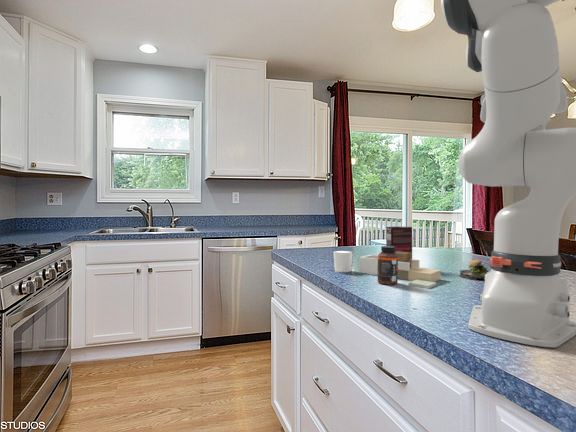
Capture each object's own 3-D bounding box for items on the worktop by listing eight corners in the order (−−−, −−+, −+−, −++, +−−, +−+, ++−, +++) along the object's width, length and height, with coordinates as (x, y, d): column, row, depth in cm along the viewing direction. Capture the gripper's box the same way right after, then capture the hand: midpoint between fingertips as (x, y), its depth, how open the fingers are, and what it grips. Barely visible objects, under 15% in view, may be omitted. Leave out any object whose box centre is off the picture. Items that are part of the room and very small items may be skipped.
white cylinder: (338, 268, 132) (338, 249, 132) (355, 270, 128) (355, 251, 128) (329, 271, 126) (329, 251, 126) (346, 273, 122) (347, 253, 122)
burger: (476, 282, 110) (477, 259, 110) (451, 275, 122) (452, 253, 122) (508, 281, 113) (509, 258, 113) (480, 274, 125) (481, 253, 124)
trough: (430, 283, 107) (430, 265, 107) (359, 272, 124) (359, 257, 124) (440, 279, 113) (440, 262, 113) (371, 269, 130) (371, 254, 130)
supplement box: (406, 266, 137) (406, 226, 136) (412, 269, 132) (413, 226, 131) (385, 267, 135) (385, 226, 135) (390, 269, 131) (391, 226, 130)
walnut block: (404, 269, 114) (405, 254, 114) (390, 267, 118) (390, 252, 118) (411, 267, 118) (411, 252, 118) (397, 265, 121) (397, 251, 121)
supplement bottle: (400, 285, 104) (400, 247, 104) (379, 285, 105) (380, 247, 104) (394, 281, 110) (395, 245, 110) (375, 280, 110) (376, 245, 110)
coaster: (428, 288, 101) (428, 285, 101) (408, 285, 105) (408, 282, 105) (436, 285, 105) (436, 282, 105) (416, 282, 109) (416, 279, 109)
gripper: (477, 89, 102) (476, 137, 103) (567, 71, 88) (565, 126, 89) (483, 94, 107) (482, 140, 107) (569, 78, 93) (567, 131, 93)
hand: (520, 134), depth 98 cm, fingers open, 8 cm apart
